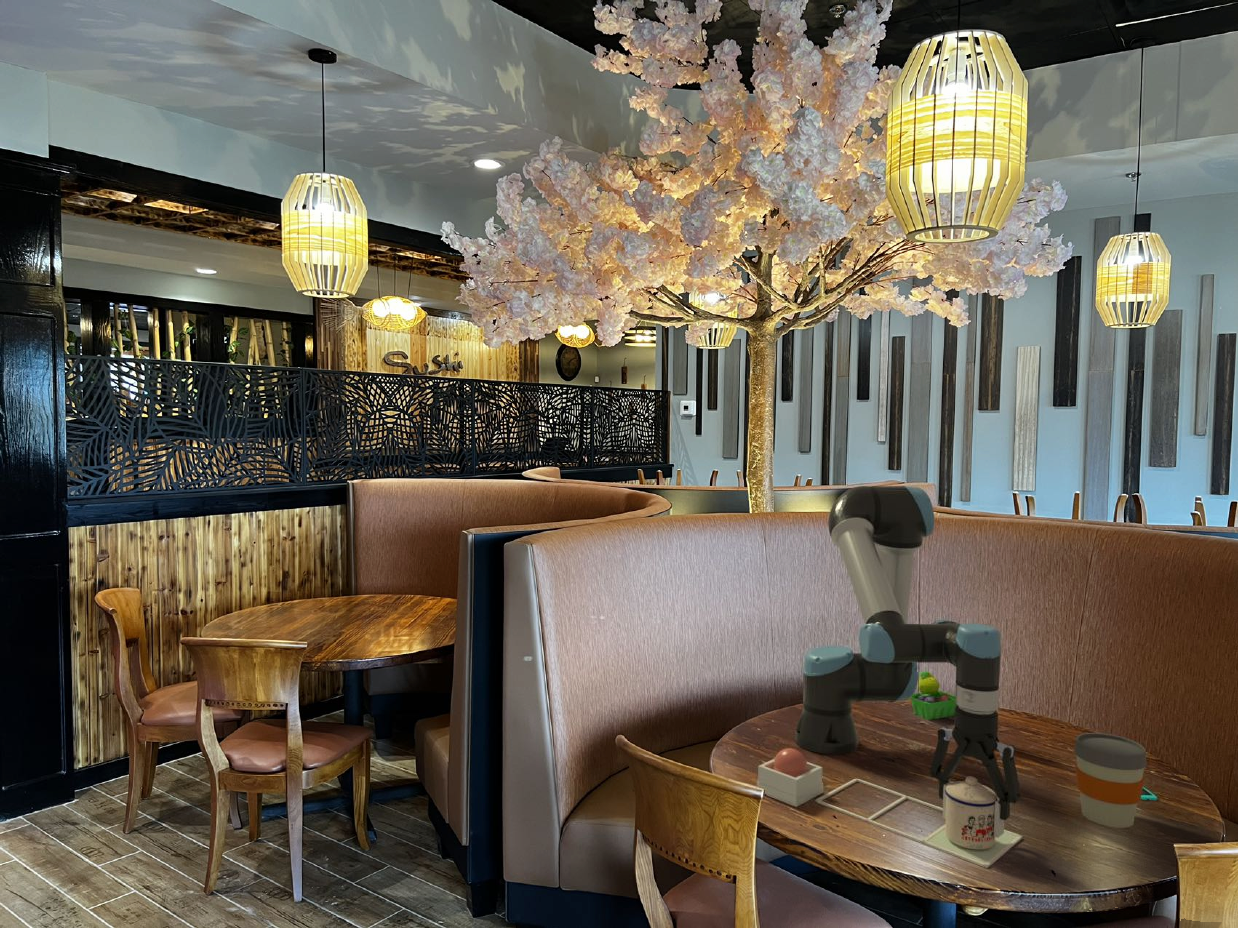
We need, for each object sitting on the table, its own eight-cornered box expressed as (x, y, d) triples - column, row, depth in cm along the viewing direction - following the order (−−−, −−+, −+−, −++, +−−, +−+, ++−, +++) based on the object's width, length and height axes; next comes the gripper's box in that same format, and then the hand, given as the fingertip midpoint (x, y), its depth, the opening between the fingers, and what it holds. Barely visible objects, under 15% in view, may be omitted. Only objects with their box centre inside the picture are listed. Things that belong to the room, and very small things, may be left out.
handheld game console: (1117, 771, 192) (1117, 766, 192) (1159, 803, 176) (1159, 796, 176) (1072, 770, 192) (1072, 764, 192) (1110, 801, 176) (1111, 795, 176)
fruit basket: (927, 722, 222) (928, 680, 221) (904, 711, 230) (905, 671, 229) (960, 717, 226) (962, 676, 225) (937, 707, 234) (938, 667, 234)
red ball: (766, 781, 178) (767, 748, 178) (785, 772, 183) (786, 740, 182) (794, 791, 173) (795, 758, 173) (813, 782, 178) (814, 749, 177)
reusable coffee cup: (1114, 801, 175) (1116, 731, 174) (1159, 830, 163) (1162, 754, 162) (1058, 804, 174) (1061, 733, 173) (1100, 833, 161) (1103, 757, 161)
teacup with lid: (962, 853, 152) (964, 790, 151) (934, 829, 161) (935, 770, 160) (1021, 847, 154) (1022, 785, 154) (989, 823, 163) (991, 765, 162)
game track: (814, 801, 173) (815, 799, 173) (855, 779, 185) (856, 777, 185) (987, 868, 148) (987, 866, 148) (1022, 837, 159) (1022, 835, 159)
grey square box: (756, 791, 178) (757, 765, 178) (783, 777, 185) (784, 753, 185) (796, 806, 171) (796, 780, 171) (823, 792, 178) (823, 767, 178)
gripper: (912, 698, 162) (908, 811, 163) (1029, 728, 146) (1024, 854, 147) (930, 690, 167) (926, 800, 168) (1045, 718, 151) (1040, 839, 153)
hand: (972, 825), depth 158 cm, fingers closed on teacup with lid, 9 cm apart
